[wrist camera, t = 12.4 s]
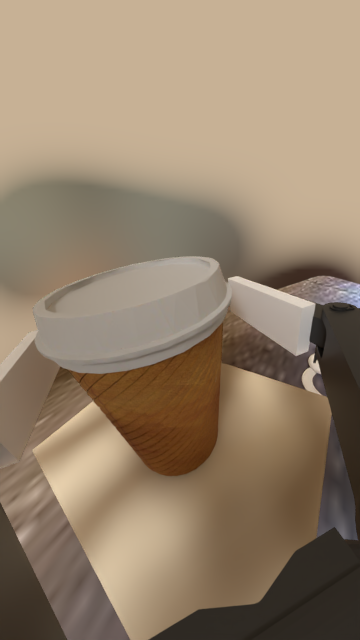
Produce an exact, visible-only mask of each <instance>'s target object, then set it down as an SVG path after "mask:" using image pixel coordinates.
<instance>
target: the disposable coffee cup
mask: <svg viewBox="0 0 360 640" xmlns="http://www.w3.org/2000/svg"><path fill="white" fill-rule="evenodd" d="M231 299H232V289H231V287H230V285H229V284H228V283H227V282H226V281H225V280H224V278H223V275H222V272H221V268H220V265H219V263H218V262H217V261H216V260H214V259H212V258H207V257H197V256H196V257H195V256H194V257H175V258H167V259H160V260H153V261H148V262H142V263H137V264H133V265H129V266H125V267H120V268H116V269H113V270H109V271H106V272H102V273H99V274H96V275H93V276H90V277H87V278H84V279H81V280H78V281H76V282H73V283H71V284H69V285H66V286H64V287H62V288H60V289H57V290H55V291H53V292H52V293H50V294H48V295H46V296H45V297H43V298H42V299H40V300H39V301H38V302H37V303H36V304H35V306H34V307H33V314H34V317H35V321H36V325H37V328H38V332H37V334H36V337H35V341H34V342H35V344H36V347H37V349H38V351H39V352H40V353H41V354H42V355H43V356H44V357H46V358H48V359H50V360H53V361H55V362H56V363H57V364H58V365H59V366H61V367H62V368H65V369H68V370H69V372H70V373H71V374H73V377H74V378H75V379H76V380H77V381H78V382H79V383H80V386H81V387H82V388H83V389H84V390H85V391H86V392H87V394H88V395H89V396H90V397H91V398H92V399H94V403H95V404H96V405H97V406H98V407H100V410H101V411H102V412H103V413H104V414H106V417H107V418H108V419H109V420H110V421H111V423H112V424H113V425H114V426H115V427H116V429H117V430H118V432H119V433H120V434H121V436H122V437H123V438H125V440H126V441H127V442H128V443H129V445H130V446H131V447H132V448H133V450H134V451H135V452H136V454H137V455H138V456H139V457H140V459H141V460H142V461H143V463H144V464H145V465H146V466H147V467H148V468H149V469H150V470H152V471H154V472H156V473H158V474H160V475H165V476H179V475H184V474H187V473H189V472H191V471H193V470H195V469H197V468H198V467H199V466H200V465H202V464H203V463H204V462H205V461H206V460H207V459H208V457H209V456H210V455H211V453H212V451H213V449H214V447H215V444H216V441H217V437H218V416H219V396H220V375H221V356H222V331H223V320H224V318H225V315H226V313H227V311H228V307H229V305H230V303H231Z"/></svg>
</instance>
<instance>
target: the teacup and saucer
mask: <svg viewBox="0 0 360 640" xmlns="http://www.w3.org/2000/svg"><path fill="white" fill-rule="evenodd" d="M314 355H315V354H313V355H311V356H310V357H309V359H308V363H309V366H310V367H309V368H308V369H306V370H305V371H304V373H303V375H302V383H303V385H304V387H305V389H306V390H307V391H310V392H313V393H316V394H319V395H321V394H320V393H319V392H318V391H317V390H316V389H315V387H314V385H313V382H312V379H313V376H314V375H315V374H316V373H318V374H321V371H320V368H319V364H318V360H316V363H313V360H314ZM322 396H323V395H322Z"/></svg>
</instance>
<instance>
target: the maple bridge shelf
mask: <svg viewBox="0 0 360 640" xmlns="http://www.w3.org/2000/svg"><path fill="white" fill-rule="evenodd" d="M331 415H332V412H331V409H330V405H329V401H328V397H325V396H322V395H319V394H316V393H313V392H310V391H307V390H304V389H301V388H298V387H295V386H292V385H289V384H286V383H283V382H280V381H277V380H273V379H270V378H267V377H264V376H261V375H258V374H255V373H252V372H249V371H246V370H243V369H240V368H237V367H234V366H231V365H228V364H225V363H221V375H220V396H219V416H218V437H217V441H216V444H215V447H214V449H213V451H212V453H211V455H210V456H209V457H208V459H207V460H206V461H205V462H204V463H203V464H202V465H200V466H199V467H198V468H197V469H195V470H193V471H191V472H189V473H187V474H184V475H179V476H165V475H160V474H158V473H156V472H154V471H152V470H150V469H149V468H148V467H147V466H146V465H145V464H144V463H143V461H142V460H141V459H140V457H139V456H138V455H137V454H136V452H135V451H134V450H133V448H132V447H131V446H130V445H129V443H128V442H127V441H126V440H125V438H123V437H122V436H121V434H120V433H119V432H118V430H117V429H116V427H115V426H114V425H113V424H112V423H111V421H110V420H109V419H108V418H107V417H106V414H104V413H103V412H102V411H101V410H100V407H98V406H97V405H96V404H95V403H94V401H93V402H92V403H90V404H89V405H88V406H87V407H85V408H84V409H83V410H82V411H80V412H79V413H78V414H77V415H76V416H74V417H73V418H72V419H71V420H69V421H68V422H67V423H66V424H64V425H63V426H62V427H61V428H59V429H58V430H57V431H56V432H54V433H53V434H52V435H51V436H50V437H48V438H47V439H46V440H45V441H43V442H42V443H41V444H40V445H38V446H37V447H36V448H35V449H33V450H32V451H33V453H34V455H35V457H36V459H37V461H38V463H39V464H40V466H41V468H42V470H43V472H44V474H45V476H46V478H47V480H48V482H49V484H50V486H51V488H52V489H53V491H54V493H55V495H56V497H57V499H58V501H59V503H60V505H61V507H62V509H63V511H64V513H65V515H66V516H67V518H68V520H69V522H70V524H71V526H72V528H73V530H74V532H75V534H76V536H77V538H78V540H79V542H80V543H81V545H82V547H83V549H84V551H85V553H86V555H87V557H88V559H89V561H90V563H91V565H92V567H93V569H94V570H95V572H96V574H97V576H98V578H99V580H100V582H101V584H102V586H103V588H104V590H105V592H106V594H107V595H108V597H109V599H110V601H111V603H112V605H113V607H114V609H115V611H116V613H117V615H118V617H119V619H120V621H121V622H122V624H123V626H124V628H125V630H126V632H127V634H128V636H129V638H130V640H149V639H150V638H152V637H154V636H155V635H157V634H158V633H160V632H162V631H163V630H165V629H167V628H168V627H170V626H172V625H173V624H175V623H177V622H178V621H180V620H182V619H183V618H185V617H187V616H188V615H190V614H192V613H193V612H195V611H197V610H198V609H207V608H217V607H228V606H238V605H249V604H255V603H257V602H259V601H260V600H261V599H262V598H263V597H264V595H265V594H266V592H267V591H268V589H269V588H270V587H271V585H272V584H273V582H274V581H275V579H276V578H277V576H278V575H279V574H280V572H281V571H282V569H283V568H284V566H285V565H286V563H287V562H288V561H289V559H290V558H291V556H292V555H293V553H294V552H295V551H296V550H298V549H299V548H301V547H303V546H304V545H306V544H308V543H309V542H311V541H313V540H314V539H316V536H317V528H318V520H319V512H320V504H321V495H322V487H323V479H324V471H325V463H326V455H327V447H328V439H329V431H330V423H331Z"/></svg>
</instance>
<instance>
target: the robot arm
mask: <svg viewBox="0 0 360 640" xmlns="http://www.w3.org/2000/svg"><path fill="white" fill-rule="evenodd" d="M228 284H229V285H230V287H231V289H232V299H231V303H230V311H231V312H232V313H234V314H235V315H237V316H238V317H239V318H241V319H242V320H244V321H245V322H247V323H248V324H250V325H251V326H253V327H254V328H256V329H257V330H259V331H260V332H261V333H263V334H264V335H266V336H267V337H269V338H270V339H272V340H273V341H275V342H276V343H278V344H279V345H281V346H282V347H284V348H285V349H286V350H288V351H289V352H291V353H292V354H294V355H295V356H298V355H300V354H303V353H305V352H308V349H309V343H310V342H312V343H314V344H316V349H315V355H314V360H313V363H316V360H318V364H319V368H320V371H321V375H322V379H323V382H324V386H325V390H326V394H327V397H328V401H329V405H330V409H331V412H332V416H333V420H334V423H335V427H336V431H337V435H338V438H339V442H340V446H341V450H342V453H343V457H344V461H345V464H346V468H347V472H348V476H349V479H350V483H351V487H352V491H353V494H354V499H355V506H356V516H355V521H356V530H357V536H358V540H347V539H345V540H344V539H343V538H342V536H341V535H340V534H339V532H338V531H337V530H336V528H335V527H334V528H333V529H331V530H329V531H328V532H326V533H324V534H323V535H321V536H319V537H318V538H316V539H314V540H313V541H311V542H309V543H308V544H306V545H304V546H303V547H301V548H299V549H298V550H296V551H295V552H294V553H293V555H292V556H291V558H290V559H289V561H288V562H287V563H286V565H285V566H284V568H283V569H282V571H281V572H280V574H279V575H278V576H277V578H276V579H275V581H274V582H273V584H272V585H271V587H270V588H269V589H268V591H267V592H266V594H265V595H264V597H263V598H262V599H261V600H260V601H259V602H257V603H255V604H249V605H238V606H228V607H217V608H207V609H198V610H197V611H195V612H193V613H192V614H190V615H188V616H187V617H185V618H183V619H182V620H180V621H178V622H177V623H175V624H173V625H172V626H170V627H168V628H167V629H165V630H163V631H162V632H160V633H158V634H157V635H155V636H154V637H152V638H150V639H149V640H360V308H359V309H358V308H357V307H356V306H354V305H351V304H347V303H338V302H335V303H328V304H325V305H320V304H317V303H314V302H311V301H308V300H306V299H303V298H300V297H297V296H294V295H291V294H287V293H284V292H281V291H278V290H275V289H273V288H269V287H267V286H264V285H260V284H258V283H255V282H252V281H250V280H247V279H244V278H241V277H238V276H236V277H232V278H228ZM37 332H38V330H36V331H33V332H29V333H28V334H27V335H26V337H25V338H24V339H23V340H22V341H21V342H20V343H19V344H18V345H17V346H16V348H15V349H14V350H13V351H12V352H11V353H10V354H9V355H8V356H7V358H6V359H5V360H4V361H3V362H2V363H1V364H0V469H1V468H3V467H6V466H9V465H11V464H14V463H17V462H19V461H20V459H21V456H22V454H23V452H24V449H25V447H26V445H27V443H28V440H29V438H30V436H31V433H32V431H33V429H34V426H35V424H36V422H37V419H38V417H39V415H40V412H41V410H42V408H43V405H44V403H45V401H46V398H47V396H48V394H49V391H50V389H51V387H52V385H53V382H54V380H55V378H56V375H57V373H58V371H59V368H60V366H59V365H58V364H57V363H56V362H55V361H53V360H50V359H48V358H46V357H44V356H43V355H42V354H41V353H40V352H39V351H38V349H37V347H36V344H35V342H34V341H35V337H36V334H37ZM0 640H67V638H66V636H65V634H64V632H63V630H62V628H61V626H60V624H59V622H58V620H57V618H56V616H55V614H54V612H53V610H52V607H51V605H50V603H49V601H48V599H47V597H46V595H45V593H44V591H43V589H42V587H41V585H40V583H39V581H38V579H37V577H36V575H35V573H34V571H33V569H32V567H31V564H30V562H29V560H28V558H27V556H26V554H25V552H24V550H23V548H22V546H21V544H20V542H19V540H18V538H17V536H16V534H15V532H14V530H13V528H12V526H11V523H10V521H9V519H8V517H7V515H6V513H5V511H4V509H3V507H2V505H1V503H0Z"/></svg>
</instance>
